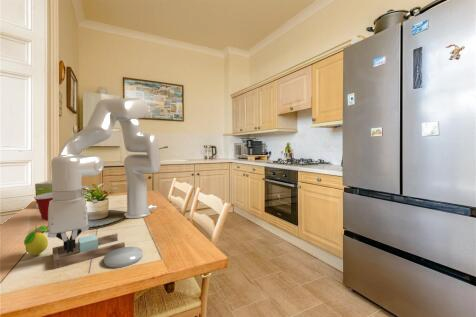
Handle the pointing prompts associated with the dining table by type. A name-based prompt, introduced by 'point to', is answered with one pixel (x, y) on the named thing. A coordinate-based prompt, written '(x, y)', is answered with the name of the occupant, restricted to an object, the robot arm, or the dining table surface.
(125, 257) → the grey round disc
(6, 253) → the dining table surface
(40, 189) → the tea box
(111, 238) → the frame
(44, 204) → the plastic cup
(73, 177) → the robot arm
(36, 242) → the lemon
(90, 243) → the teal cube
